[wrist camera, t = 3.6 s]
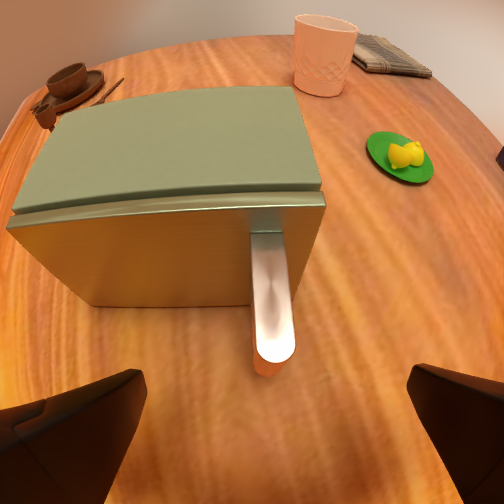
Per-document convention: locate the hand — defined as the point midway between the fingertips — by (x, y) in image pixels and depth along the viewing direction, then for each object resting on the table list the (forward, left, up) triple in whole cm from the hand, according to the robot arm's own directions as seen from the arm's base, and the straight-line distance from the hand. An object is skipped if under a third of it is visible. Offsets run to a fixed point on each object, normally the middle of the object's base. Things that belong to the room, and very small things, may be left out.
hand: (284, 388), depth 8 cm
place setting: (-18, +43, -10) cm, 48 cm away
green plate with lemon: (+21, +16, -10) cm, 28 cm away
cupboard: (-2, +12, -9) cm, 15 cm away
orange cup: (+19, +32, -10) cm, 39 cm away
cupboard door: (-4, +5, -9) cm, 11 cm away
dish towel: (+39, +45, -10) cm, 60 cm away
